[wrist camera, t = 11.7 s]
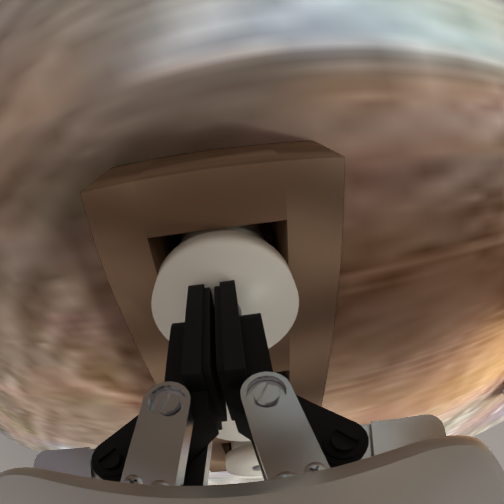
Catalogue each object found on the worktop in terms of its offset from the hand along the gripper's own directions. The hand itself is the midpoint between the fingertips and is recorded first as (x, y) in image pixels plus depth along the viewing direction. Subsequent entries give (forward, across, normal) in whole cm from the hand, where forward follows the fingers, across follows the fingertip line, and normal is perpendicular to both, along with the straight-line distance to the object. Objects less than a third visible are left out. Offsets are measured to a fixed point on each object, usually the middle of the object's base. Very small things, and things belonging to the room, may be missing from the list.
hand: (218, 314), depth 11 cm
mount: (+6, 0, +9) cm, 11 cm away
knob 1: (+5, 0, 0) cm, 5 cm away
